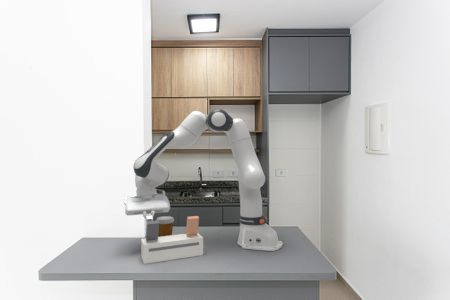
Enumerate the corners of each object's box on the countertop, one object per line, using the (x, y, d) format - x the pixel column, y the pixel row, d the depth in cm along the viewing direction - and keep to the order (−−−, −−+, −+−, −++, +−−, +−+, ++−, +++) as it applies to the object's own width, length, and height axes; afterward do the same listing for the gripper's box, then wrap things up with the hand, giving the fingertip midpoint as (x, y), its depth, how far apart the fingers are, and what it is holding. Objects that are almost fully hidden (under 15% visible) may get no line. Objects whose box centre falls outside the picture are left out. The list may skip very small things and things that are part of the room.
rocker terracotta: (185, 234, 138) (187, 216, 135) (196, 233, 139) (197, 215, 137) (186, 236, 136) (188, 219, 133) (197, 235, 138) (199, 218, 135)
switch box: (141, 256, 133) (141, 238, 133) (197, 248, 143) (197, 232, 143) (144, 264, 125) (143, 245, 125) (203, 255, 135) (203, 237, 135)
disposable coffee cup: (170, 244, 150) (170, 220, 150) (152, 243, 152) (152, 219, 152) (177, 238, 160) (176, 216, 160) (160, 237, 162) (160, 215, 162)
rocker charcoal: (145, 239, 131) (146, 221, 127) (157, 237, 133) (158, 220, 129) (146, 242, 129) (147, 224, 126) (157, 240, 131) (159, 223, 128)
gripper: (124, 193, 138) (125, 218, 129) (168, 190, 146) (172, 214, 137) (123, 201, 142) (125, 226, 133) (166, 198, 150) (170, 222, 141)
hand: (149, 220), depth 135 cm, fingers closed
